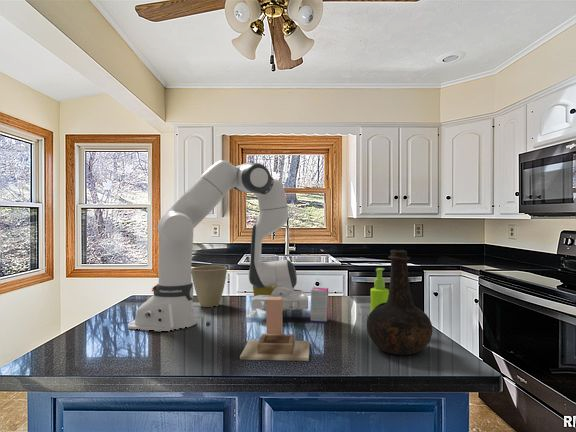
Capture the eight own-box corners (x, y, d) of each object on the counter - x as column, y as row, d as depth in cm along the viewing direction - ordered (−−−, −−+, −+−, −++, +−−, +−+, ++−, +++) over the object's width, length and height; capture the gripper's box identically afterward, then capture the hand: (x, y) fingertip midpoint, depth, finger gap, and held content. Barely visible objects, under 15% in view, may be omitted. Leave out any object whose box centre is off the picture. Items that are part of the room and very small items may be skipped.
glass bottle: (400, 336, 124) (400, 246, 124) (447, 354, 108) (447, 250, 108) (353, 345, 116) (353, 248, 116) (396, 366, 100) (396, 254, 100)
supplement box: (326, 323, 140) (326, 290, 140) (310, 322, 141) (310, 289, 141) (328, 318, 145) (328, 287, 145) (312, 318, 147) (312, 287, 147)
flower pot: (252, 307, 164) (252, 285, 164) (261, 303, 172) (261, 282, 172) (271, 309, 161) (271, 286, 161) (280, 304, 169) (280, 283, 169)
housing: (240, 359, 105) (239, 346, 105) (249, 342, 119) (249, 331, 119) (308, 360, 104) (308, 348, 104) (309, 343, 117) (309, 332, 117)
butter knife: (258, 310, 159) (251, 310, 159) (247, 327, 135) (238, 326, 135) (258, 311, 159) (251, 311, 159) (247, 328, 135) (238, 328, 135)
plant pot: (198, 301, 176) (198, 265, 176) (231, 302, 174) (231, 265, 174) (185, 309, 161) (185, 270, 161) (221, 310, 159) (220, 270, 159)
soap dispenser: (390, 326, 135) (390, 267, 135) (386, 332, 128) (386, 270, 128) (373, 324, 137) (373, 266, 137) (368, 330, 131) (368, 269, 131)
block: (266, 338, 122) (266, 299, 122) (268, 334, 127) (268, 296, 127) (281, 339, 122) (281, 299, 122) (282, 334, 126) (282, 296, 126)
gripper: (254, 290, 150) (247, 297, 137) (308, 290, 149) (307, 298, 135) (254, 306, 150) (247, 316, 137) (308, 307, 149) (307, 317, 135)
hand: (278, 307), depth 136 cm, fingers open, 8 cm apart
